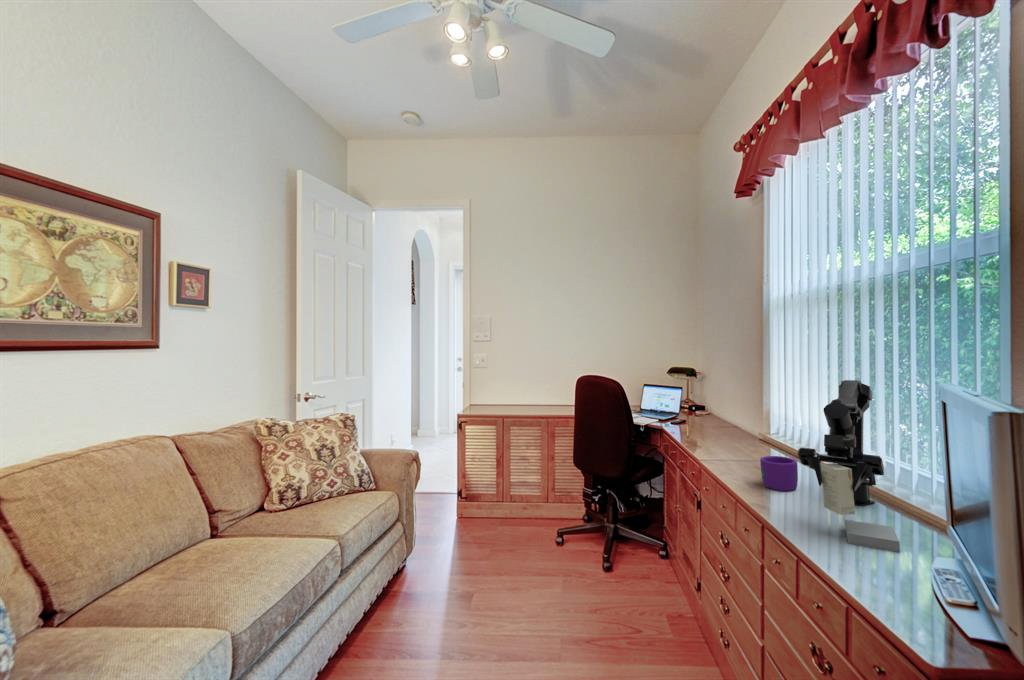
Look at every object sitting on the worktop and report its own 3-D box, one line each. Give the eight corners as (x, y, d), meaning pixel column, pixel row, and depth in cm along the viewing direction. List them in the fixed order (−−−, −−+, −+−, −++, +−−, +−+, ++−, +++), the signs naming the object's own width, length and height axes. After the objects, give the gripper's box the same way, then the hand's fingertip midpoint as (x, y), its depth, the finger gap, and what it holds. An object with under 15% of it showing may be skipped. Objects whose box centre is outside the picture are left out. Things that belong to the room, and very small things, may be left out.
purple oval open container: (800, 494, 146) (799, 464, 147) (762, 490, 152) (760, 462, 152) (795, 479, 162) (793, 453, 162) (760, 476, 167) (758, 451, 167)
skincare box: (856, 515, 114) (853, 469, 114) (839, 515, 114) (837, 469, 114) (837, 506, 120) (835, 462, 120) (822, 506, 120) (819, 463, 120)
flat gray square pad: (845, 530, 118) (844, 519, 118) (893, 538, 113) (892, 526, 113) (848, 545, 110) (847, 533, 110) (900, 553, 105) (899, 541, 105)
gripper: (797, 420, 127) (789, 465, 119) (879, 425, 113) (876, 477, 105) (805, 441, 132) (798, 486, 124) (885, 449, 119) (883, 500, 111)
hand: (836, 487), depth 116 cm, fingers closed on skincare box, 7 cm apart
